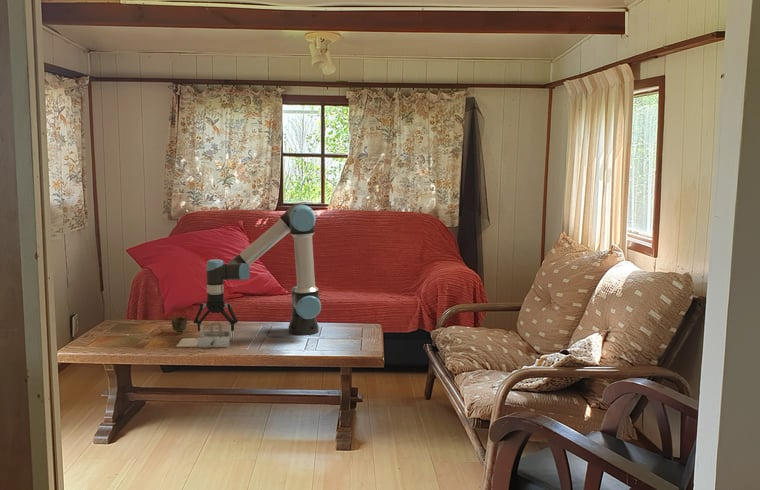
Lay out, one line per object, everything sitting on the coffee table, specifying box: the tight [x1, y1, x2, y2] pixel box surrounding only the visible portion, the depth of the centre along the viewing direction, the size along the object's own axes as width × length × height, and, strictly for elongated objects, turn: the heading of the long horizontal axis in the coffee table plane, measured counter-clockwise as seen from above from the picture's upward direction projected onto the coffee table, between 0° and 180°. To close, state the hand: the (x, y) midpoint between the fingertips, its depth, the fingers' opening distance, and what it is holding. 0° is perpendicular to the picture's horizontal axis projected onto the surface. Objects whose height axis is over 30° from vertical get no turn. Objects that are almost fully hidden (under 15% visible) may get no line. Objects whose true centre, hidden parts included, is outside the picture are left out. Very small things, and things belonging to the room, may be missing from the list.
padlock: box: [208, 322, 224, 337], centre depth 321 cm, size 7×4×10 cm, turn 92°
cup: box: [171, 315, 188, 336], centre depth 336 cm, size 8×7×8 cm
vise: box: [197, 329, 235, 348], centre depth 320 cm, size 14×17×4 cm
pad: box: [175, 337, 198, 348], centre depth 321 cm, size 9×12×1 cm
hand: (216, 337), depth 321 cm, fingers open, 13 cm apart
